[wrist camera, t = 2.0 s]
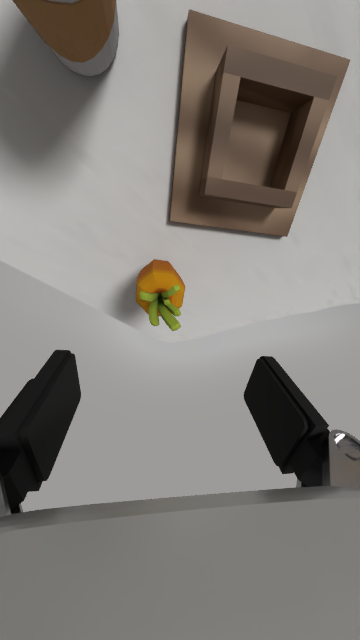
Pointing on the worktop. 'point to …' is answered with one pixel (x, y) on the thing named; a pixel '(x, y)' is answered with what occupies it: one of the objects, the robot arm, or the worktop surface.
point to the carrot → (160, 293)
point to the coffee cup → (76, 31)
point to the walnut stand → (248, 125)
